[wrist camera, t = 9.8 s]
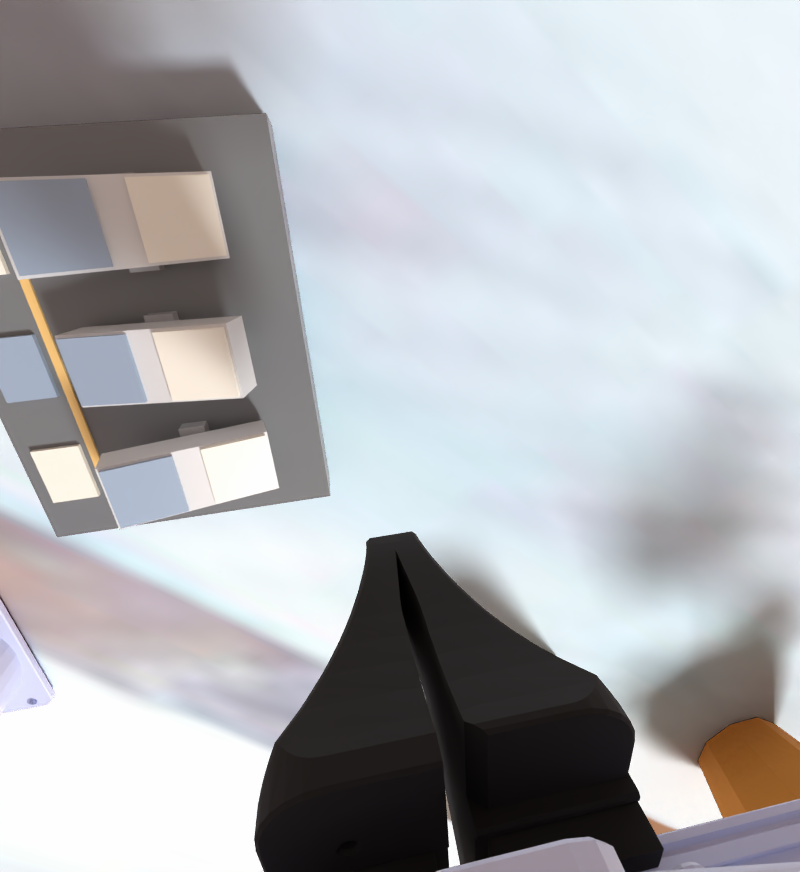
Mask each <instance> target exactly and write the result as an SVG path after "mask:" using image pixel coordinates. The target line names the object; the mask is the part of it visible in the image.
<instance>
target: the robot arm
mask: <svg viewBox="0 0 800 872" xmlns="http://www.w3.org/2000/svg"><path fill="white" fill-rule="evenodd" d="M366 546H367V549H366V560H365V565H364V571H363V575H362V579H361V583H360V587H359V590H358V594H357V597H356V600H355V603H354V606H353V609H352V612H351V614H350V617H349V620H348V622H347V625H346V627H345V629H344V632H343V634H342V636H341V638H340V641H339V643H338V645H337V647H336V649H335V651H334V653H333V655H332V657H331V659H330V661H329V663H328V665H327V666H326V668H325V670H324V672H323V674H322V675H321V677H320V679H319V680H318V682H317V683H316V685H315V687H314V688H313V690H312V691H311V693H310V694H309V696H308V698H307V699H306V701H305V702H304V704H303V705H302V707H301V708H300V710H299V711H298V713H297V714H296V715H295V717H294V718H293V719H292V721H291V722H290V723H289V725H288V726H287V727H286V729H285V730H284V731H283V733H282V734H281V735H280V737H279V738H278V739H277V741H276V742H275V744H274V747H273V750H272V753H271V756H270V759H269V762H268V765H267V769H266V772H265V776H264V780H263V784H262V788H261V793H260V798H259V803H258V810H257V819H256V829H255V838H254V840H255V847H256V852H257V855H258V857H259V860H260V862H261V865H262V867H263V870H264V872H800V799H797V800H793V801H789V802H785V803H781V804H777V805H773V806H769V807H765V808H761V809H757V810H753V811H750V812H746V813H742V814H738V815H734V816H730V817H726V818H722V819H718V820H714V821H710V822H706V823H702V824H698V825H694V826H690V827H687V828H683V829H679V830H675V831H671V832H667V833H663V834H659V835H656V834H655V832H654V830H653V828H652V827H651V825H650V823H649V821H648V819H647V817H646V816H645V814H644V812H643V810H642V808H641V807H640V805H639V803H638V801H639V799H640V794H639V791H638V789H637V787H636V786H635V784H634V782H633V780H632V779H631V777H630V775H629V773H628V770H629V766H630V761H631V756H632V752H633V747H634V742H635V730H634V728H633V726H632V724H631V721H630V720H629V718H628V717H627V715H626V713H625V712H624V710H623V709H622V707H621V706H620V704H619V703H618V701H617V700H616V699H615V698H614V696H613V695H612V694H611V692H610V691H609V690H608V689H607V688H606V686H605V685H604V684H603V683H602V681H601V680H600V679H599V678H598V676H597V675H595V674H593V673H591V672H588V671H586V670H584V669H582V668H580V667H578V666H576V665H574V664H571V663H569V662H567V661H565V660H563V659H561V658H559V657H557V656H555V655H553V654H551V653H549V652H548V651H546V650H544V649H542V648H540V647H539V646H537V645H535V644H533V643H532V642H530V641H529V640H527V639H526V638H524V637H523V636H521V635H519V634H518V633H516V632H515V631H513V630H512V629H510V628H509V627H507V626H506V625H505V624H503V623H502V622H501V621H499V620H498V619H496V618H495V617H494V616H492V615H491V614H490V613H489V612H487V611H486V610H485V609H484V608H483V607H481V606H480V605H479V604H478V603H477V602H475V601H474V600H473V599H472V598H471V597H470V596H469V595H468V594H467V593H466V592H465V591H464V590H462V589H461V588H460V587H459V586H458V585H457V584H456V583H455V582H454V581H453V580H452V579H451V578H450V576H449V575H448V574H447V573H446V572H445V571H444V570H443V569H442V568H441V567H440V566H439V564H438V563H437V562H436V561H435V560H434V559H433V557H432V556H431V555H430V554H429V552H428V551H427V550H426V549H425V547H424V546H423V544H422V543H421V542H420V540H419V539H418V537H417V536H416V534H415V533H413V532H406V533H400V534H394V535H387V536H381V537H375V538H370V539H369V540H368V541H367V542H366ZM419 677H420V678H419ZM421 684H422V685H421ZM422 687H423V688H422ZM423 691H424V692H423ZM424 694H425V695H424ZM54 696H55V692H54V690H53V689H52V687H51V685H50V684H49V682H48V680H47V678H46V677H45V675H44V673H43V672H42V670H41V668H40V666H39V665H38V663H37V661H36V659H35V658H34V656H33V654H32V653H31V651H30V649H29V647H28V646H27V644H26V642H25V641H24V639H23V637H22V635H21V634H20V632H19V630H18V629H17V627H16V625H15V623H14V622H13V620H12V618H11V616H10V615H9V613H8V611H7V610H6V608H5V606H4V604H3V603H2V601H1V599H0V715H1V713H5V712H11V711H16V710H21V709H26V708H32V707H37V706H42V705H47V704H49V703H50V702H52V700H53V698H54ZM425 697H426V698H425ZM426 701H427V702H426ZM445 790H446V794H445ZM446 795H447V800H448V804H449V810H450V814H451V820H452V825H453V830H454V835H455V840H456V845H457V850H458V855H459V860H460V865H458V866H454V867H450V868H449V859H448V847H449V841H448V825H447V810H446Z"/></svg>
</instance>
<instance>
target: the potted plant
mask: <svg viewBox="0 0 800 872" xmlns="http://www.w3.org/2000/svg"><path fill="white" fill-rule="evenodd" d="M698 762H699V765H700V767H701V769H702V771H703V774H704V776H705V778H706V781H707V783H708V785H709V787H710V790H711V792H712V794H713V796H714V799H715V801H716V803H717V806H718V808H719V810H720V812H721V815H722V817H723V818H726V817H730V816H734V815H738V814H742V813H746V812H750V811H753V810H757V809H761V808H765V807H769V806H773V805H777V804H781V803H785V802H789V801H793V800H797V799H800V742H799V741H797V740H796V739H795V738H793V737H792V736H790V735H789V734H788V733H786V732H785V731H784V730H782V729H781V728H780V727H778V726H777V725H775V724H774V723H771V722H769V721H766V720H763V719H760V718H758V717H757V718H753V719H749V720H746V721H742V722H738V723H735V724H731V725H729V726H728V727H726V728H725V729H724V730H722V731H721V732H720V733H718V734H717V735H716V736H714V737H713V738H711V739H710V740H709V741H707V742H706V744H705V746H704V749H703V751H702V753H701V755H700V757H699V760H698Z"/></svg>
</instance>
